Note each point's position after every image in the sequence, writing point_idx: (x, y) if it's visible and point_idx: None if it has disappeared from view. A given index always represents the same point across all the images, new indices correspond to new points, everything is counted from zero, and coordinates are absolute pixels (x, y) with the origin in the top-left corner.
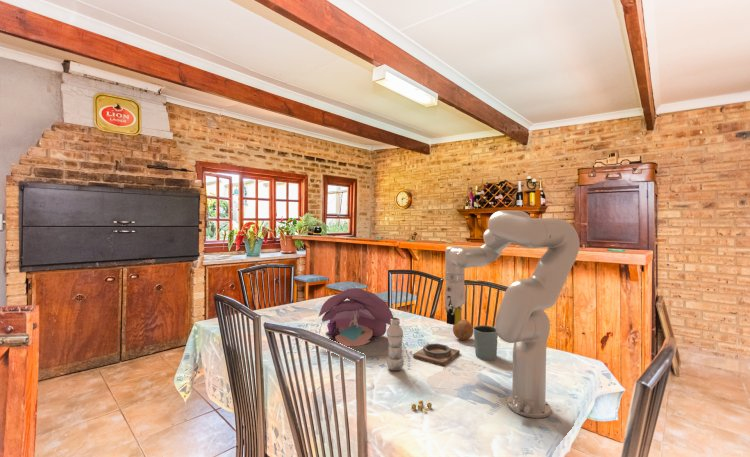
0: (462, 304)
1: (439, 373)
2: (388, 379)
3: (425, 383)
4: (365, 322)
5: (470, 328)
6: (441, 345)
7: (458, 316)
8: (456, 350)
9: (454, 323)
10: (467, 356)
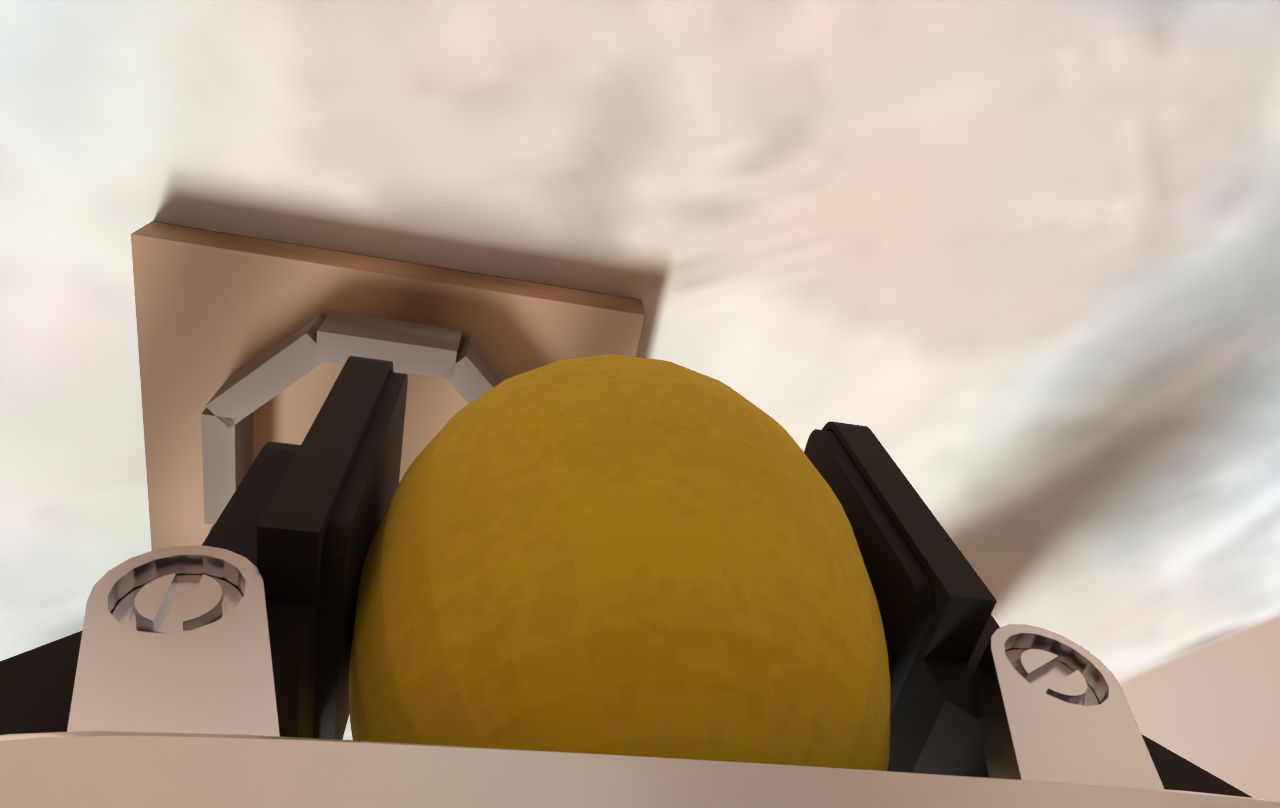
0: (467, 759)
1: (837, 284)
2: (1078, 605)
3: (1090, 337)
4: None
5: None
6: (235, 471)
7: (791, 454)
8: (165, 271)
9: (858, 431)
10: (171, 98)
